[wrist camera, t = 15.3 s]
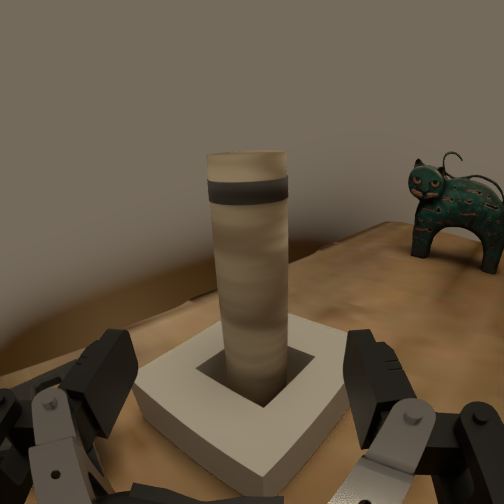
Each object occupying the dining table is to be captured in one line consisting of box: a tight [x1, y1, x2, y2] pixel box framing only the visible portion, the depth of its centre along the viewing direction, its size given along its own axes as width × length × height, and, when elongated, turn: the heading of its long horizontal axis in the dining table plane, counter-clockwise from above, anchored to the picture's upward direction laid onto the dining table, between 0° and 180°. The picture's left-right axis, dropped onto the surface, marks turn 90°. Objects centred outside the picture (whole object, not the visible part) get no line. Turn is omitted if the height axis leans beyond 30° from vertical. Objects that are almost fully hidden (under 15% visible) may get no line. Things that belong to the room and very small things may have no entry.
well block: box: [132, 313, 350, 497], centre depth 24 cm, size 15×13×5 cm
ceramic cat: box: [408, 152, 504, 274], centre depth 47 cm, size 20×6×20 cm, turn 48°
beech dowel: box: [207, 150, 288, 408], centre depth 21 cm, size 5×5×20 cm
